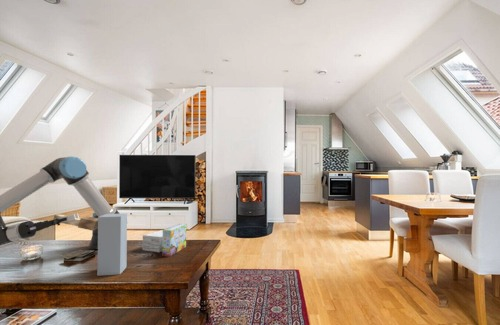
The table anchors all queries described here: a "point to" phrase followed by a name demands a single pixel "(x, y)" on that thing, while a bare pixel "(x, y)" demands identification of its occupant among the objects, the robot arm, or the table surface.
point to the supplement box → (153, 241)
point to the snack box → (173, 239)
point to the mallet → (82, 222)
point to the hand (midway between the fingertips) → (76, 216)
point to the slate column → (112, 244)
